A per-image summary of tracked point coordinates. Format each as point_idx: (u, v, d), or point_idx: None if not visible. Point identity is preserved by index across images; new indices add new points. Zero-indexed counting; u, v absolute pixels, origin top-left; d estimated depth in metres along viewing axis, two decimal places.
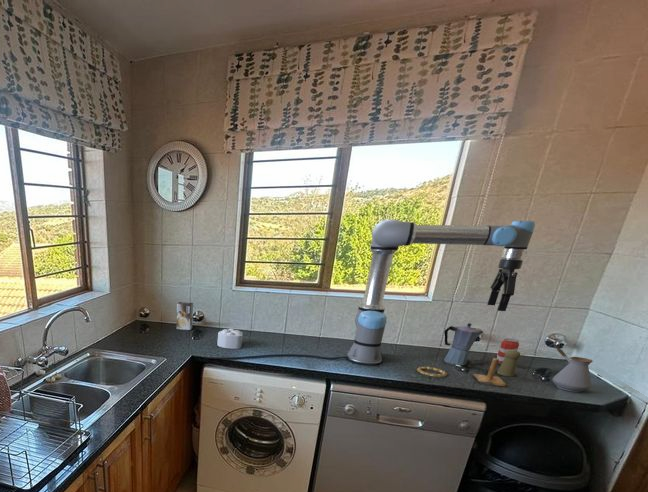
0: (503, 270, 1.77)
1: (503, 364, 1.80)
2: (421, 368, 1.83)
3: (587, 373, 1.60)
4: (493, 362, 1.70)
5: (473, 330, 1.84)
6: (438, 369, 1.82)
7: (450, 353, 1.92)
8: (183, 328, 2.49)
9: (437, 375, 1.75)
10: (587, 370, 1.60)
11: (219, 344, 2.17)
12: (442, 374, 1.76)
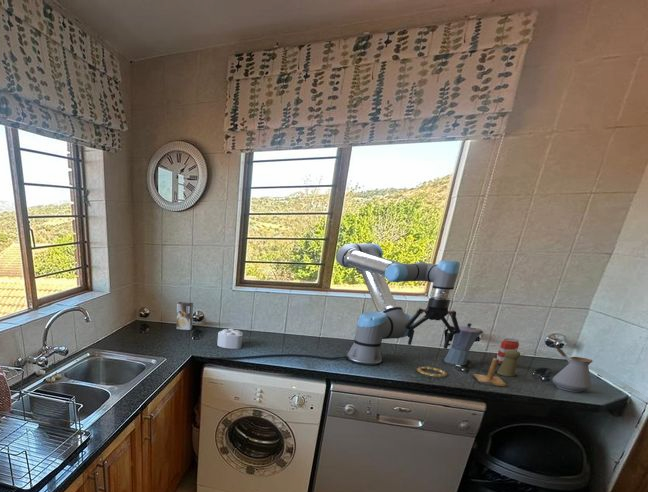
0: None
1: (503, 364, 1.80)
2: (421, 368, 1.83)
3: (587, 373, 1.60)
4: (493, 362, 1.70)
5: (473, 330, 1.84)
6: (438, 369, 1.82)
7: (450, 353, 1.92)
8: (183, 328, 2.49)
9: (437, 375, 1.75)
10: (587, 370, 1.60)
11: (219, 344, 2.17)
12: (442, 374, 1.76)
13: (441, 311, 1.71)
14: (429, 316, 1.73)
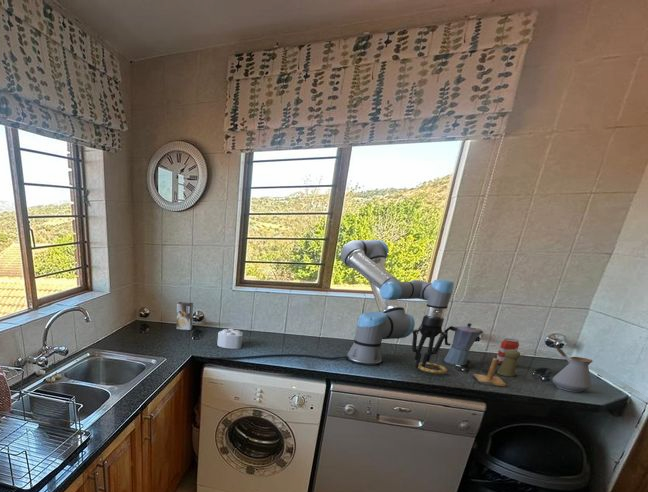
0: None
1: (503, 364, 1.80)
2: (421, 364, 1.83)
3: (587, 373, 1.60)
4: (493, 362, 1.70)
5: (473, 330, 1.84)
6: (438, 365, 1.82)
7: (450, 353, 1.92)
8: (183, 328, 2.49)
9: (438, 371, 1.75)
10: (587, 370, 1.60)
11: (219, 344, 2.17)
12: (442, 370, 1.76)
13: (435, 329, 1.74)
14: (425, 335, 1.75)
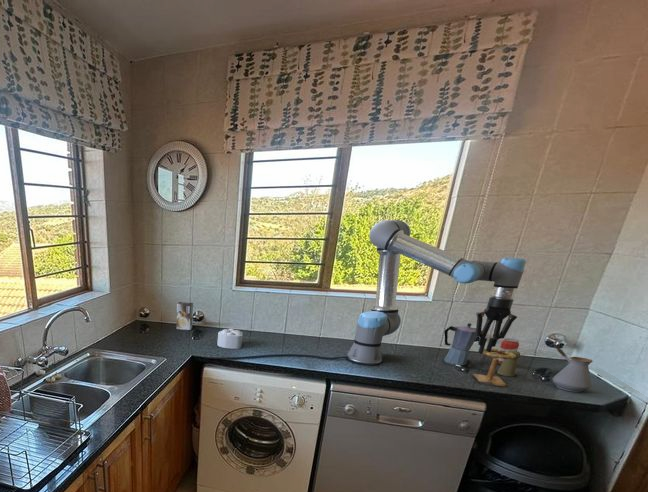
0: None
1: (503, 364, 1.80)
2: (485, 349, 1.71)
3: (587, 373, 1.60)
4: (493, 362, 1.70)
5: (473, 330, 1.84)
6: (504, 351, 1.70)
7: (450, 353, 1.92)
8: (183, 328, 2.49)
9: (506, 356, 1.63)
10: (587, 370, 1.60)
11: (219, 344, 2.17)
12: (511, 355, 1.64)
13: (503, 311, 1.62)
14: (492, 318, 1.64)
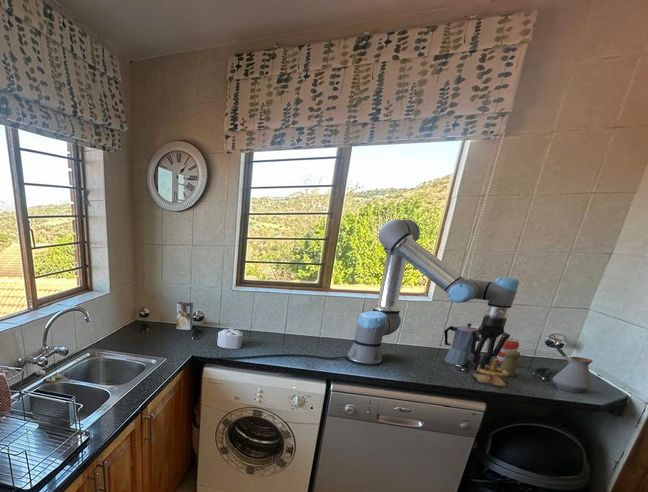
0: None
1: (503, 364, 1.80)
2: (479, 366, 1.74)
3: (587, 373, 1.60)
4: (493, 362, 1.70)
5: None
6: (497, 368, 1.73)
7: (450, 353, 1.92)
8: (183, 328, 2.49)
9: (500, 374, 1.66)
10: (587, 370, 1.60)
11: (219, 344, 2.17)
12: (504, 373, 1.67)
13: (496, 330, 1.65)
14: (486, 336, 1.67)
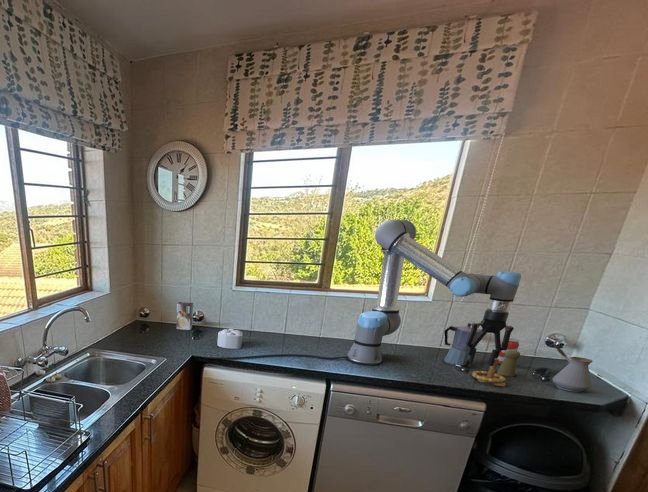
0: None
1: (503, 364, 1.80)
2: (476, 372, 1.75)
3: (587, 373, 1.60)
4: (493, 362, 1.70)
5: None
6: (494, 373, 1.74)
7: (450, 353, 1.92)
8: (183, 328, 2.49)
9: (496, 380, 1.67)
10: (587, 370, 1.60)
11: (219, 344, 2.17)
12: (501, 379, 1.68)
13: (498, 324, 1.64)
14: (487, 330, 1.66)
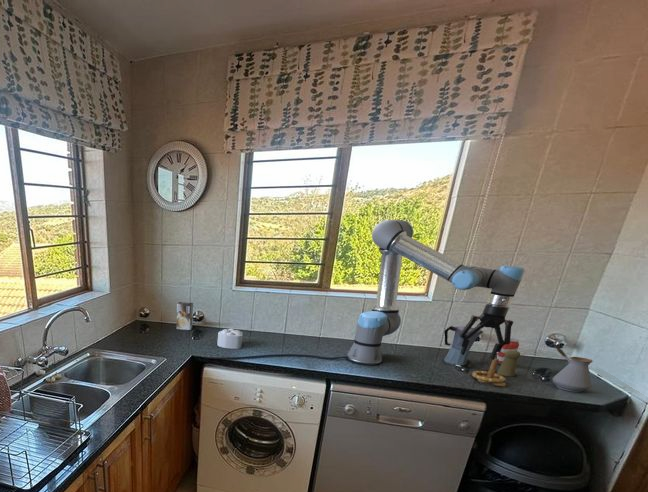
0: None
1: (503, 364, 1.80)
2: (476, 372, 1.75)
3: (587, 373, 1.60)
4: (493, 362, 1.70)
5: None
6: (494, 373, 1.74)
7: (450, 353, 1.92)
8: (183, 328, 2.49)
9: (496, 380, 1.67)
10: (587, 370, 1.60)
11: (219, 344, 2.17)
12: (501, 379, 1.68)
13: (498, 319, 1.64)
14: (485, 324, 1.66)
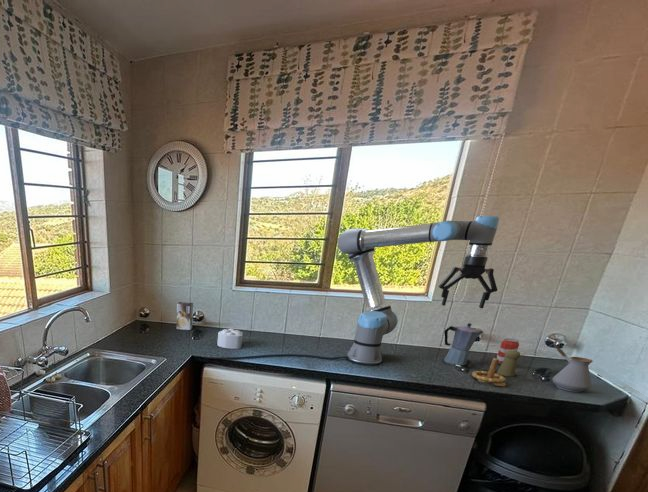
0: None
1: (503, 364, 1.80)
2: (476, 372, 1.75)
3: (587, 373, 1.60)
4: (493, 362, 1.70)
5: (473, 330, 1.84)
6: (494, 373, 1.74)
7: (450, 353, 1.92)
8: (183, 328, 2.49)
9: (496, 380, 1.67)
10: (587, 370, 1.60)
11: (219, 344, 2.17)
12: (501, 379, 1.68)
13: (478, 269, 1.67)
14: (465, 274, 1.69)
